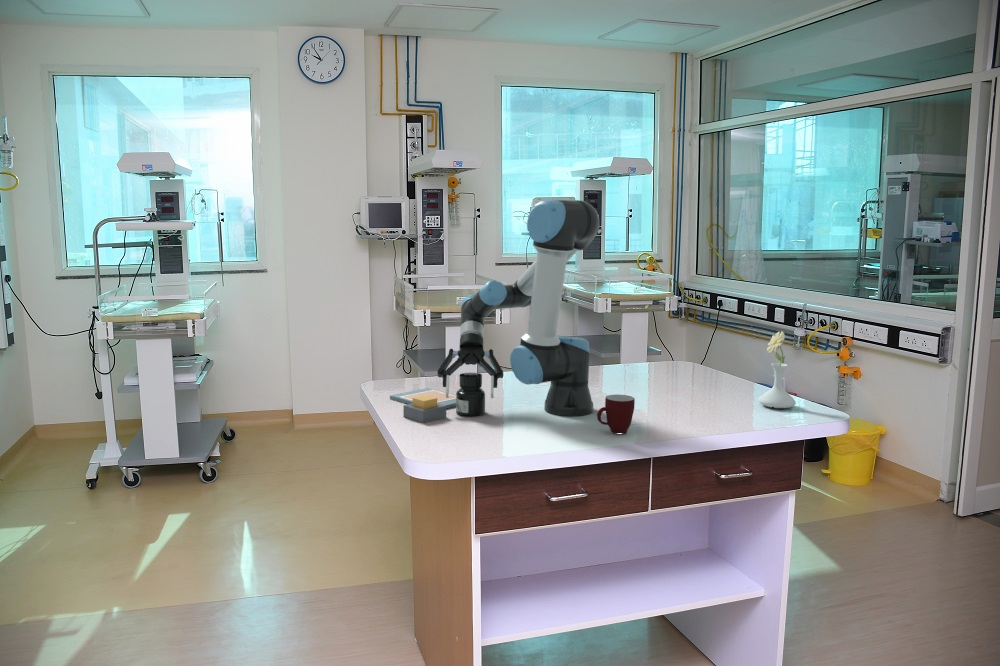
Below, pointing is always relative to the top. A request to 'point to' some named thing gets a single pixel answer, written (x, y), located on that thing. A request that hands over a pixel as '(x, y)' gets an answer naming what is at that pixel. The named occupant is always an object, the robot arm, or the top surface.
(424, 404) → the button
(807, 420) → the top surface
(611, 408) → the mug
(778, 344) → the flower in vase
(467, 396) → the ink bottle
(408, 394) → the picture board
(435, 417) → the button housing
